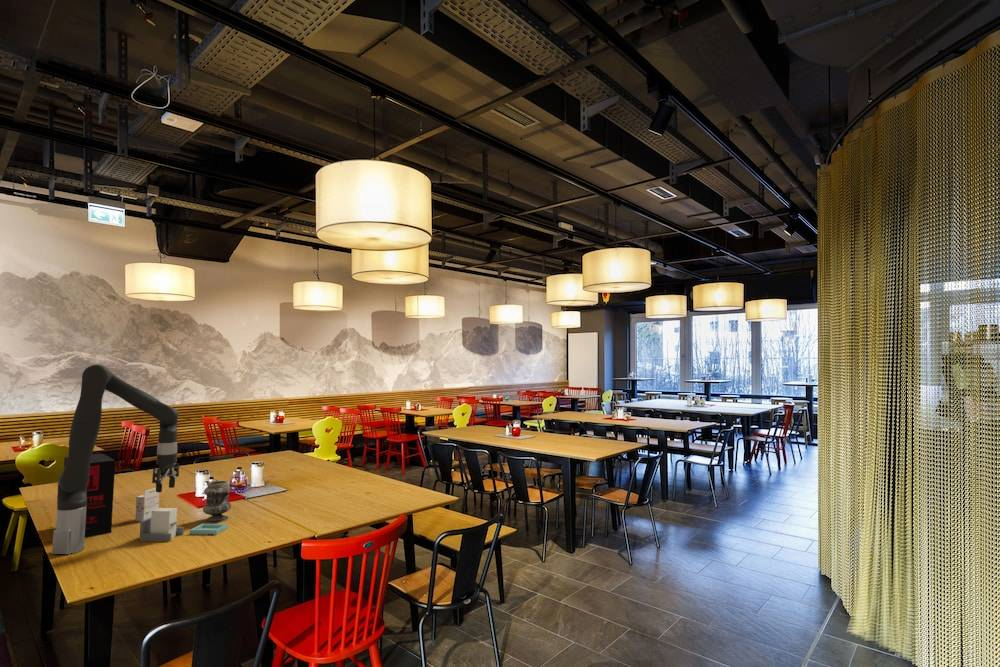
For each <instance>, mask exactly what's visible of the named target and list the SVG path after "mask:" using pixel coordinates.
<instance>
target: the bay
mask: <svg viewBox="0 0 1000 667" xmlns="http://www.w3.org/2000/svg"><path fill="white" fill-rule="evenodd" d="M139 522H140V521H139ZM184 531H185V527H183V526H182V527H181V526H176V536H183V535H184ZM150 532H151V518H148V519H146V520H144V521H141V522H140V527H139V542H171V541H172V538H171V533H150Z"/></svg>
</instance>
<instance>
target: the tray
mask: <svg viewBox="0 0 1000 667" xmlns="http://www.w3.org/2000/svg"><path fill="white" fill-rule="evenodd" d="M227 528H229V524H228V523H201V524H199V525H197V526H195V527H193V528H191V529H189V535H196V536H198V535H202V536H203V534H204V535H207V536H211V534H213V535H212V536H215V535H216V536H217V535H219V534H221V533H222V532H224V531H226V530H228V529H227ZM225 529H226V530H225ZM220 532H221V533H220ZM218 533H219V534H218ZM208 534H210V535H208Z"/></svg>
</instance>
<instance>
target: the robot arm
mask: <svg viewBox="0 0 1000 667" xmlns="http://www.w3.org/2000/svg"><path fill="white" fill-rule="evenodd" d="M105 391H107V392H110V393H111V394H114V395H116V396H117V397H118V398H121V399H122V400H124V401H125V402H127V403H128V404H129V405H131V406H133V407H134V408H137V409H139V411H142V412H144V413H146V414H148V415H150V416H152V417H153V418H155V419H157V421H159V431H158V437H157V438H158V440H157V447H156V448H157V450H156V464H157V466H158V468H153V470H152V478H151V479H152V480H151V482H152V484H155V488H156V492H159V493H161V492H162V491H163V482H164V480H165V479H166V478H167V477H168V478H169V479H168V488H169V489H173V488H175V485H176V479H177V477H179V475H180V463H177V462H178V419H179V411H178V410H177V409H176V408H175V407H172V406H169V405H168V404H165V403H164V402H161V401H160V400H159V399H158V398H156V397H154V396H153V395H151V394H150V393H147V392H145V391H144V390H142V389H139V388H137V387H135V386H134V385H132V384H129V383H128V382H125V381H124V380H122V379H121V378H120V377H118V376H116V375H115V374H114V373H113V372H112V371H110V369H109V368H108V367H107V366H105V365H102V364H101V365H100V364H93V365H89V366H88V367H86V368H85V369H84V370H83V372H82V374H81V388H80V395H79V400H78V403H77V405H76V409H75V411H74V415H73V418H72V421H71V427H70V430H69V435H68V436H69V437H68V455H67V457H68V460H67V463H66V467H65V470H64V469H63V470H62V471H61V472H60V474H59V476H58V481H57V497H56V498H57V499H56V501H57V502H56V505H57V506H56V521H55V522H56V523H55V529H54V530H53V533H52V534H53V535H52V547H51V548H52V549H51V550H52V552H51V554H52V553H53V554H65V555H64V556H67V555H66V554H68V555H71V553H72V554H75V553H79V552H81V551H83V550H84V549H85V539H86V538H85V523H86V507H87V483H88V481H89V470H90V461H91V455H92V454H93V452H94V448H95V446H96V442H97V440H98V435H99V432H100V428H101V422H102V411H103V410H102V409H103V408H102V406H103V405H102V404H103V403H102V402H103V397H104V393H105Z"/></svg>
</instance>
